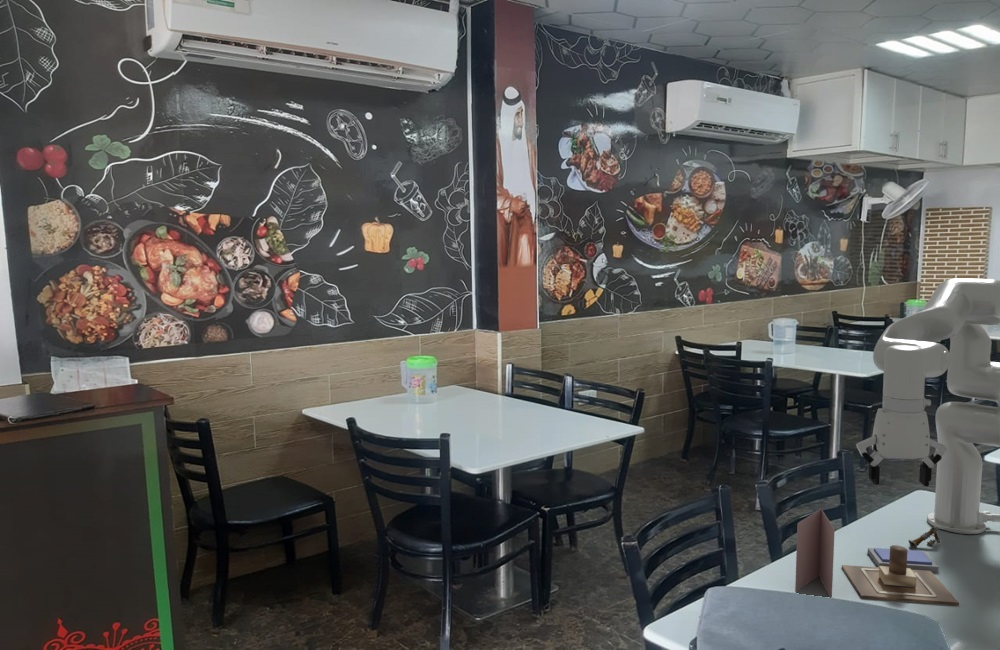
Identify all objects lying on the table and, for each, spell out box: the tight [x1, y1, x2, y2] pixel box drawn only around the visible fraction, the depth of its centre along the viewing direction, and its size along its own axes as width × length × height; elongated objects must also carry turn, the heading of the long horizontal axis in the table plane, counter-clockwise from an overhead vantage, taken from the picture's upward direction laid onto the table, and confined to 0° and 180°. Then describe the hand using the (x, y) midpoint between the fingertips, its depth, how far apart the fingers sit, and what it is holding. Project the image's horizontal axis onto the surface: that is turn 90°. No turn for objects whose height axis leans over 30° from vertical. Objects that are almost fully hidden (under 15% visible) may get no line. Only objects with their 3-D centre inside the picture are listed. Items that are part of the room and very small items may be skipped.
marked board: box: [841, 564, 960, 606], centre depth 149 cm, size 18×14×1 cm
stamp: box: [879, 544, 917, 588], centre depth 149 cm, size 6×4×8 cm, turn 77°
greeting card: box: [794, 508, 836, 598], centre depth 148 cm, size 11×7×15 cm, turn 133°
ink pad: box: [867, 547, 940, 573], centre depth 160 cm, size 12×8×2 cm, turn 79°
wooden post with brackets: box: [908, 526, 941, 550], centre depth 169 cm, size 2×8×4 cm, turn 104°
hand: (899, 483), depth 151 cm, fingers open, 9 cm apart
